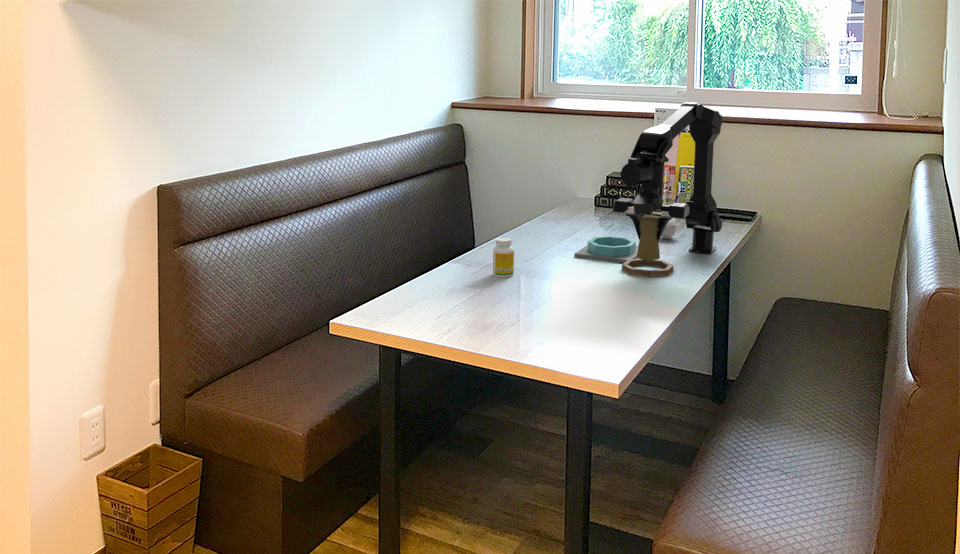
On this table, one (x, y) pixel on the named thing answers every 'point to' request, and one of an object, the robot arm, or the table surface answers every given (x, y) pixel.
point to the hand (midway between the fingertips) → (649, 240)
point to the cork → (648, 238)
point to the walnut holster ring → (647, 273)
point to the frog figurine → (670, 229)
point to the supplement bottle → (503, 258)
